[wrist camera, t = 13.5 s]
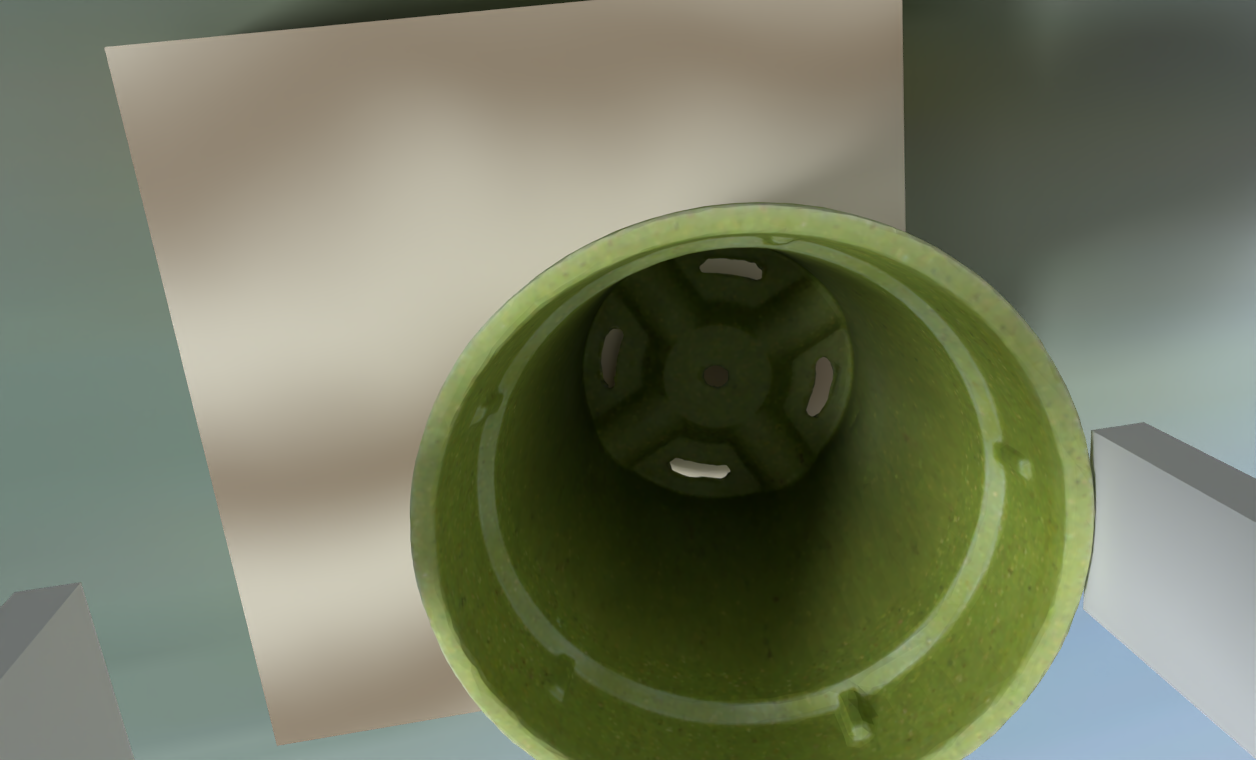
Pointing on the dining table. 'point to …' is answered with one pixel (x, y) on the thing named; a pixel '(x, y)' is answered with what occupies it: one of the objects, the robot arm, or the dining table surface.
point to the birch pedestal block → (445, 257)
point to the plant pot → (753, 499)
